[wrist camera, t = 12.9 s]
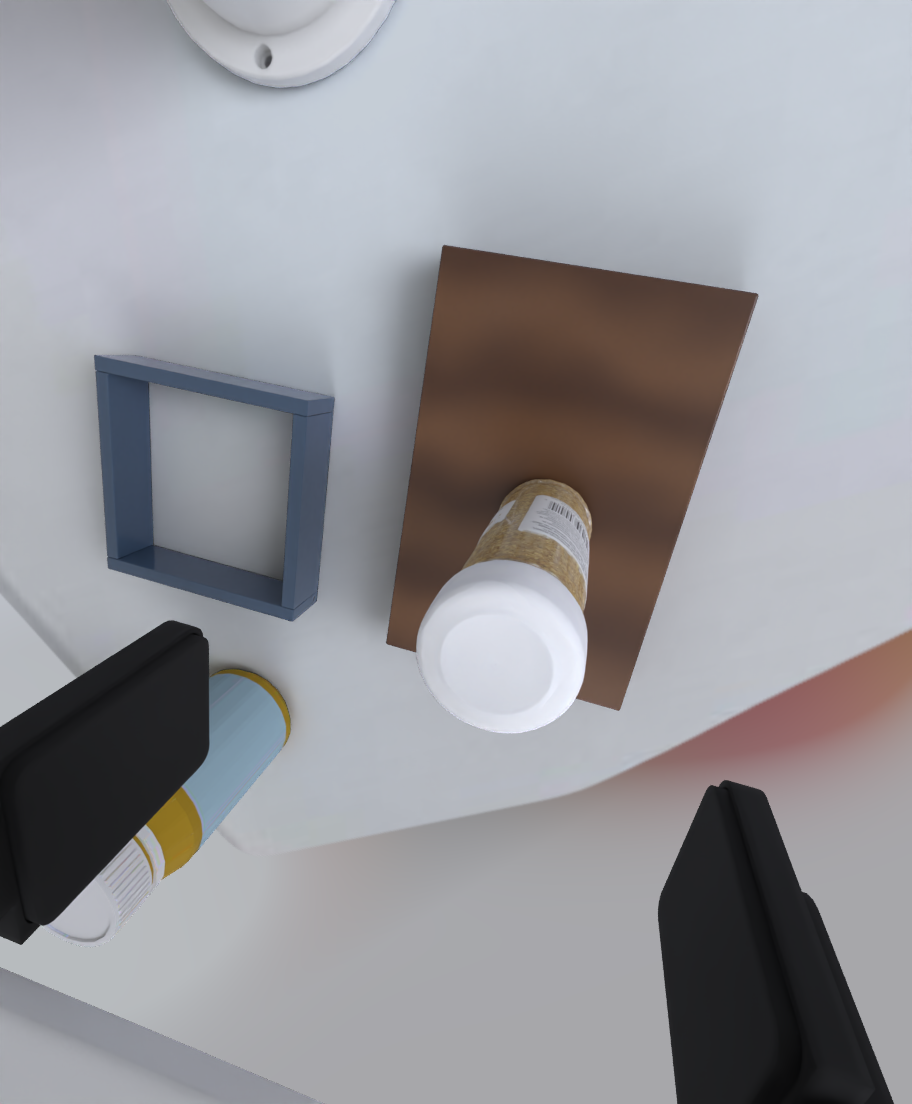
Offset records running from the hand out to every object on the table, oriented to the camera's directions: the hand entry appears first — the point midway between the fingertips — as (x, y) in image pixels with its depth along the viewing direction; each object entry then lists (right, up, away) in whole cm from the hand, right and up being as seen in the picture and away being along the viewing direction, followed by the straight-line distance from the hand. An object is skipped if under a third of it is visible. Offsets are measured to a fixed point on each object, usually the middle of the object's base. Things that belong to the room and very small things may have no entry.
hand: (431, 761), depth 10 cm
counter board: (+5, +7, +19) cm, 21 cm away
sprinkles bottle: (+5, +5, +17) cm, 18 cm away
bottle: (-14, -7, +29) cm, 33 cm away
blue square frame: (-13, +8, +24) cm, 28 cm away
